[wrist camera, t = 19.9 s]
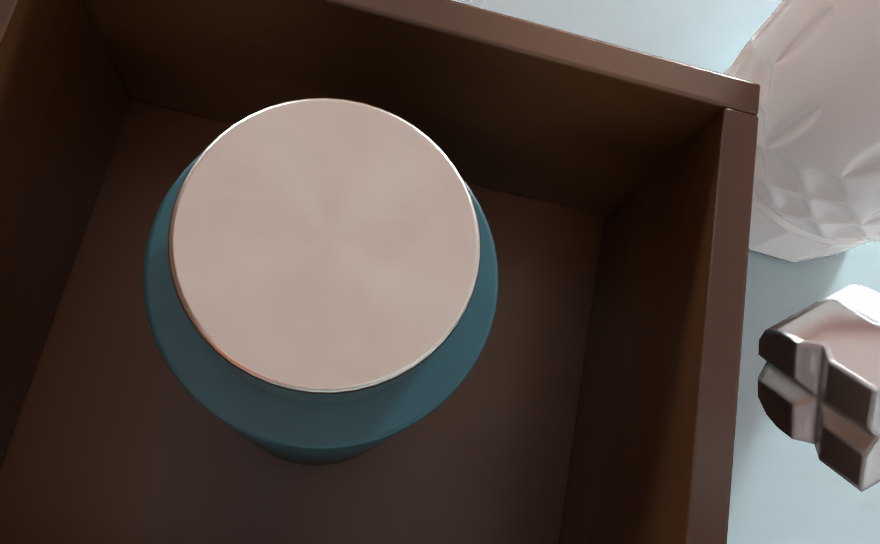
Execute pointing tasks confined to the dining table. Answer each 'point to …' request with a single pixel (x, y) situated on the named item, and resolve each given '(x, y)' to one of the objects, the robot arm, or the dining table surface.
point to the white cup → (815, 128)
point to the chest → (518, 257)
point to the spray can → (320, 278)
